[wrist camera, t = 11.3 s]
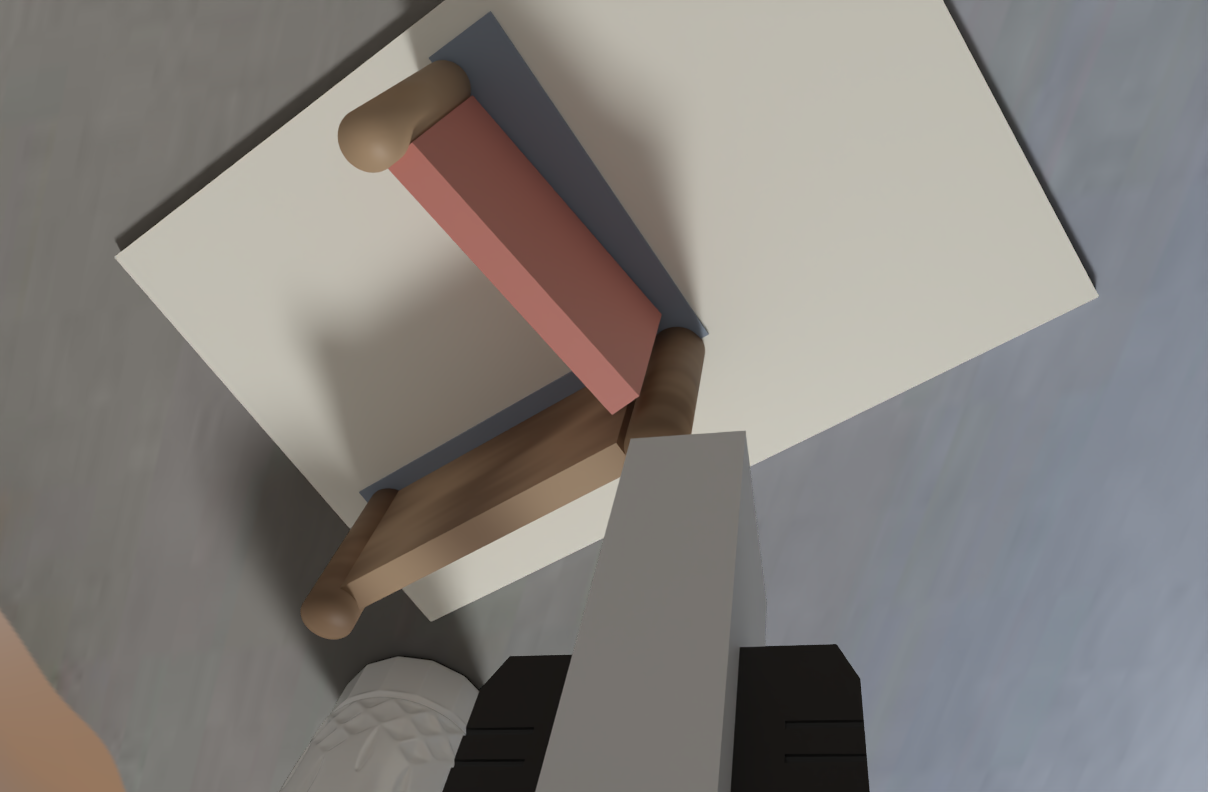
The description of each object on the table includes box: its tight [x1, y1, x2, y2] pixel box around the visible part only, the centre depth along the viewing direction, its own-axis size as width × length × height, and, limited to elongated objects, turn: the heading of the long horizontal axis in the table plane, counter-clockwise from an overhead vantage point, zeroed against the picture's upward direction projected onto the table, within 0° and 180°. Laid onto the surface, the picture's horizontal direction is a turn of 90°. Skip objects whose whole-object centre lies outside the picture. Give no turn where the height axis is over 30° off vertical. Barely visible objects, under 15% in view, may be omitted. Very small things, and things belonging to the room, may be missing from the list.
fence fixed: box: [301, 327, 705, 639], centre depth 35 cm, size 15×2×6 cm, turn 125°
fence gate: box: [338, 60, 662, 415], centre depth 30 cm, size 10×2×7 cm, turn 41°
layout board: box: [115, 0, 1099, 622], centre depth 35 cm, size 27×18×1 cm, turn 125°
